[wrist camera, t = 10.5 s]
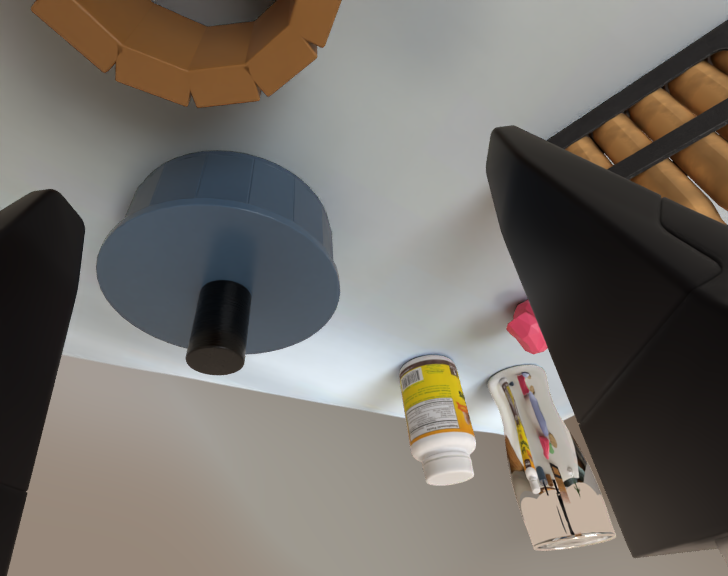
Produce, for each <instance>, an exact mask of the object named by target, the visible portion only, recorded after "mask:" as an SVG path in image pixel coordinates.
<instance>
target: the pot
mask: <svg viewBox="0 0 728 576" xmlns="http://www.w3.org/2000/svg"><path fill="white" fill-rule="evenodd" d="M186 198H219V199H226V200H233V201H239V202H243V203H247V204H251V205H256V206H259V207H261V208H264V209H267V210H270V211H273V212H275V213H277V214H279V215H282V216H284V217H286V218H288V219H290V220H291V221H293V222H295V223H296V224H298V225H300V226H301V227H303V228H304V229H305V230H307V231H308V232H309V233H310V234H312V235H313V236H314V237H315V238H316V239H317V240H318V241H319V242H320V243H321V244H322V245H323V246H324V247H325V249H326V250H327V251H328V253H329V254H330V256H331V257H332V259H333V247H332V232H331V229H330V226H329V221H328V217H327V214H326V212H325V210H324V207H323V205H322V204H321V202H320V200H319V199H318V197H317V196H316V195H315V193H314V192H313V191H312V190H311V189H310V188H309V187H308V186H307V185H306V184H305V183H304V182H303V181H302V180H301V179H299V178H298V177H297V176H295V175H294V174H292V173H291V172H290V171H288V170H286V169H284V168H283V167H281V166H279V165H277V164H275V163H273V162H270V161H268V160H265V159H263V158H259V157H256V156H252V155H249V154H244V153H238V152H232V151H202V152H196V153H191V154H187V155H183V156H180V157H177V158H174V159H172V160H170V161H168V162H166V163H164V164H163V165H161V166H160V167H158V168H157V169H155V170H154V171H153V172H152V173H151V174H150V175H149V176H148V177H147V178H146V179H145V180H144V182H143V183H142V184H141V185H140V186H139V187H138V189H137V191H136V193H135V195H134V198H133V200H132V202H131V205H130V207H129V209H128V212H127V214H126V216H125V218H126V217H128V216H129V215H131V214H132V213H134V212H137V211H139V210H141V209H143V208H145V207H148V206H151V205H155V204H158V203H161V202H165V201H171V200H177V199H186ZM125 218H124V219H125Z"/></svg>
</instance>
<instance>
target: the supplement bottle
mask: <svg viewBox="0 0 728 576" xmlns="http://www.w3.org/2000/svg"><path fill="white" fill-rule="evenodd" d="M399 380H400V386H401V393H402V399H403V406H404V412H405V418H406V424H407V430H408V437H409V443H410V450H411V454H412V456H413V457H414V458H415V459H416V460H418V461H420V462H422V465H423V470H424V475H425V480H426V482H427V483H428V484H431V485H438V486H442V485H452V484H457V483H461V482H464V481H467V480H469V479H471V478H472V477H473V476H474V472H473V467H472V461H471V459H470V456H469V455H470V454H471V453H472V452H473V451H474V449H475V447H476V441H475V436H474V433H473V429H472V425H471V421H470V417H469V414H468V410H467V406H466V402H465V398H464V395H463V391H462V388H461V384H460V380H459V376H458V372H457V369H456V366H455V364H454V362H453V361H452V360H450V359H449V358H447V357H444V356H440V355H426V356H421V357H418V358H415V359H413V360H411V361H409V362H407V363H406V364H405V365H404V366H403V367H402V368H401V370H400V372H399Z"/></svg>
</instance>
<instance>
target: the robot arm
mask: <svg viewBox="0 0 728 576" xmlns="http://www.w3.org/2000/svg"><path fill="white" fill-rule="evenodd" d="M486 174H487V178H488V182H489V186H490V190H491V194H492V198H493V202H494V206H495V210H496V214H497V218H498V222H499V225H500V229H501V232H502V235H503V238H504V241H505V243H506V246H507V248H508V251H509V253H510V256H511V258H512V261H513V263H514V266H515V268H516V271H517V273H518V275H519V278H520V280H521V283H522V285H523V288H524V290H525V293H526V295H527V298H528V300H529V303H530V305H531V308H532V310H533V313H534V315H535V318H536V320H537V322H538V325H539V327H540V330H541V332H542V335H543V337H544V340H545V342H546V345H547V347H548V350H549V352H550V355H551V357H552V360H553V362H554V365H555V367H556V369H557V372H558V374H559V377H560V379H561V382H562V384H563V387H564V389H565V392H566V394H567V397H568V399H569V402H570V404H571V407H572V409H573V412H574V414H575V416H576V419H577V421H578V423H580V424H579V427H580V430H581V432H582V434H583V437H584V439H585V442H586V444H587V447H588V449H589V452H590V454H591V457H592V459H593V462H594V464H595V467H596V469H597V472H598V474H599V477H600V479H601V481H602V484H603V486H604V489H605V491H606V494H607V496H608V499H609V501H610V503H611V506H612V509H613V511H614V514H615V516H616V518H617V521H618V524H619V526H620V528H621V531H622V533H623V536H624V538H625V541H626V543H627V546H628V548H629V550H630V552H631V554H632V556H633V557H634V558H640V557H649V556H657V555H666V554H674V553H683V552H691V551H700V550H709V549H717V548H718V549H719V550H720V552H721V554H722V556H723V558H724V560H725V561H726V563H727V565H728V225H726V224H724V223H721V222H719V221H716V220H714V219H712V218H709V217H707V216H705V215H703V214H701V213H698V212H696V211H694V210H692V209H690V208H687V207H685V206H683V205H681V204H679V203H677V202H675V201H673V200H671V199H668V198H666V197H663V198H661V195H660V194H658V193H656V192H653V191H651V190H649V189H647V188H645V187H643V186H641V185H639V184H637V183H634V182H632V181H630V180H628V179H626V178H624V177H622V176H620V175H618V174H615V173H613V172H611V171H609V170H607V169H605V168H603V167H601V166H599V165H596V164H594V163H592V162H590V161H588V160H586V159H584V158H582V157H580V156H577V155H575V154H573V153H571V152H569V151H567V150H565V149H563V148H561V147H558V146H556V145H554V144H552V143H550V142H548V141H546V140H544V139H542V138H539V137H537V136H535V135H533V134H531V133H529V132H527V131H525V130H523V129H521V128H518V127H516V126H504V127H497V128H495V129H493V131H492V133H491V136H490V142H489V149H488V155H487V162H486ZM84 235H85V226H84V222H83V220H82V219H81V217H80V216H79V215H78V214H77V212H76V211H75V210H74V209H73V208H72V206H71V205H70V204H69V203H68V202H67V200H66V199H65V198H64V197H63V196H62V195H61V194H60V193H59V192H58V191H56V190H53V189H46V190H39V191H33V192H31V193H29V194H27V195H25V196H24V197H22V198H21V199H19V200H17V201H16V202H14V203H12V204H11V205H9V206H7V207H6V208H4V209H2V210H1V211H0V576H7V573H8V569H9V565H10V561H11V557H12V553H13V549H14V544H15V540H16V537H17V533H18V529H19V525H20V521H21V517H22V513H23V509H24V505H25V501H26V497H27V492H26V491H27V490H28V487H29V483H30V479H31V475H32V471H33V466H34V463H35V459H36V455H37V451H38V447H39V443H40V439H41V435H42V431H43V427H44V423H45V419H46V415H47V411H48V407H49V403H50V399H51V395H52V391H53V387H54V383H55V379H56V375H57V371H58V367H59V363H60V359H61V355H62V351H63V347H64V343H65V339H66V335H67V331H68V327H69V323H70V319H71V315H72V311H73V307H74V303H75V299H76V295H77V290H78V284H79V276H80V268H81V260H82V251H83V243H84Z"/></svg>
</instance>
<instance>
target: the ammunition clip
mask: <svg viewBox="0 0 728 576" xmlns="http://www.w3.org/2000/svg"><path fill="white" fill-rule="evenodd" d="M694 114H695V115H694ZM715 131H716V132H717V133H718V134H719V135H718V134H717V133H716V132H715ZM651 140H652V141H653V142H652V141H651ZM547 141H548V142H550V143H552V144H554V145H556V146H558V147H561V148H563V149H565V150H567V151H569V152H571V153H573V154H575V155H577V156H580V157H582V158H584V159H586V160H588V161H590V162H592V163H594V164H596V165H599V166H601V167H603V168H605V169H607V170H609V171H611V172H613V173H615V174H618V175H620V176H622V177H624V178H626V179H628V180H630V181H632V182H634V183H637V184H639V185H641V186H643V187H645V188H647V189H649V190H651V191H653V192H656V193H658V194H660V195H661V198H663V197H666V198H668V199H671V200H673V201H675V202H677V203H679V204H681V205H683V206H685V207H687V208H690V209H692V210H694V211H696V212H698V213H701V214H703V215H705V216H707V217H709V218H712V219H714V220H716V221H719V222H721V223H724V224H726V223H725V222H724V221H723V220H722V219H721V217H720V215H719V213H718V212H717V210H716V208H715V206H714V205H713V203H712V202H711V201H710V200H709V198H708V197H707V196H706V195H705V194H704V193H703V192H702V191H701V190H700V189H699V188H698V187H697V186H696V185H695V184H694V183H693V182H692V181H691V180H690V179H689V178H688V177H687V176H689V177H690V178H691V179H692V180H693V181H694V182H695V183H696V184H697V185H698V186H699V187H700V188H701V189H702V190H703V191H704V192H706V193H707V194H708V195H709V196H710V197H711V198H712V199H713V200H714V201H715V202H716V203H717V204H718V205H719V206H720V207H722V208H724V209H725V210H727V211H728V20H727V21H726V22H724V23H723V24H721V25H720V26H718V27H717V28H715V29H714V30H712V31H711V32H709V33H708V34H706V35H705V36H703V37H702V38H700V39H699V40H697V41H696V42H694V43H693V44H691V45H690V46H688V47H687V48H685V49H684V50H682V51H681V52H679V53H678V54H676V55H675V56H673V57H672V58H670V59H669V60H667V61H666V62H664V63H663V64H661V65H660V66H658V67H657V68H655V69H654V70H652V71H651V72H649V73H648V74H646V75H645V76H643V77H642V78H640V79H639V80H637V81H636V82H634V83H633V84H631V85H630V86H628V87H627V88H625V89H624V90H622V91H621V92H619V93H618V94H616V95H615V96H613V97H612V98H610V99H609V100H607V101H606V102H604V103H603V104H601V105H600V106H598V107H597V108H595V109H594V110H592V111H591V112H589V113H588V114H586V115H585V116H583V117H582V118H580V119H579V120H577V121H576V122H574V123H573V124H571V125H570V126H568V127H567V128H565V129H564V130H562V131H561V132H559V133H558V134H556V135H555V136H553V137H552V138H550V139H549V140H547ZM604 153H605V154H606V155H607V156H608V157H609V159H610V160H611V161H612V162H613V163H614V164H615V165H612V163H611V162H610V161H609V160H608V158H607V157H606V156H605V155H604ZM669 157H670V158H671V159H672V160H673V161H671V160H670V159H669ZM726 225H727V224H726Z"/></svg>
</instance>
